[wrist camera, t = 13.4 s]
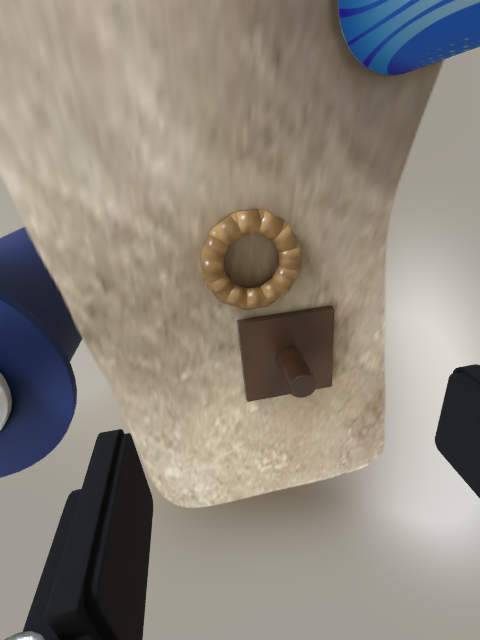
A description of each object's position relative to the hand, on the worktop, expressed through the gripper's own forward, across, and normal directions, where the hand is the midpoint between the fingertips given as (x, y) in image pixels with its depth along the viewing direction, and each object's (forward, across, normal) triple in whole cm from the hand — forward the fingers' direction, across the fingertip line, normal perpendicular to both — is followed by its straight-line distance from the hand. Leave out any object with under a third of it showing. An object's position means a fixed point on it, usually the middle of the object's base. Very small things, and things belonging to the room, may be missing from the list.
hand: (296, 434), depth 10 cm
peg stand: (+20, -5, +11) cm, 24 cm away
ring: (+19, -2, +1) cm, 20 cm away
